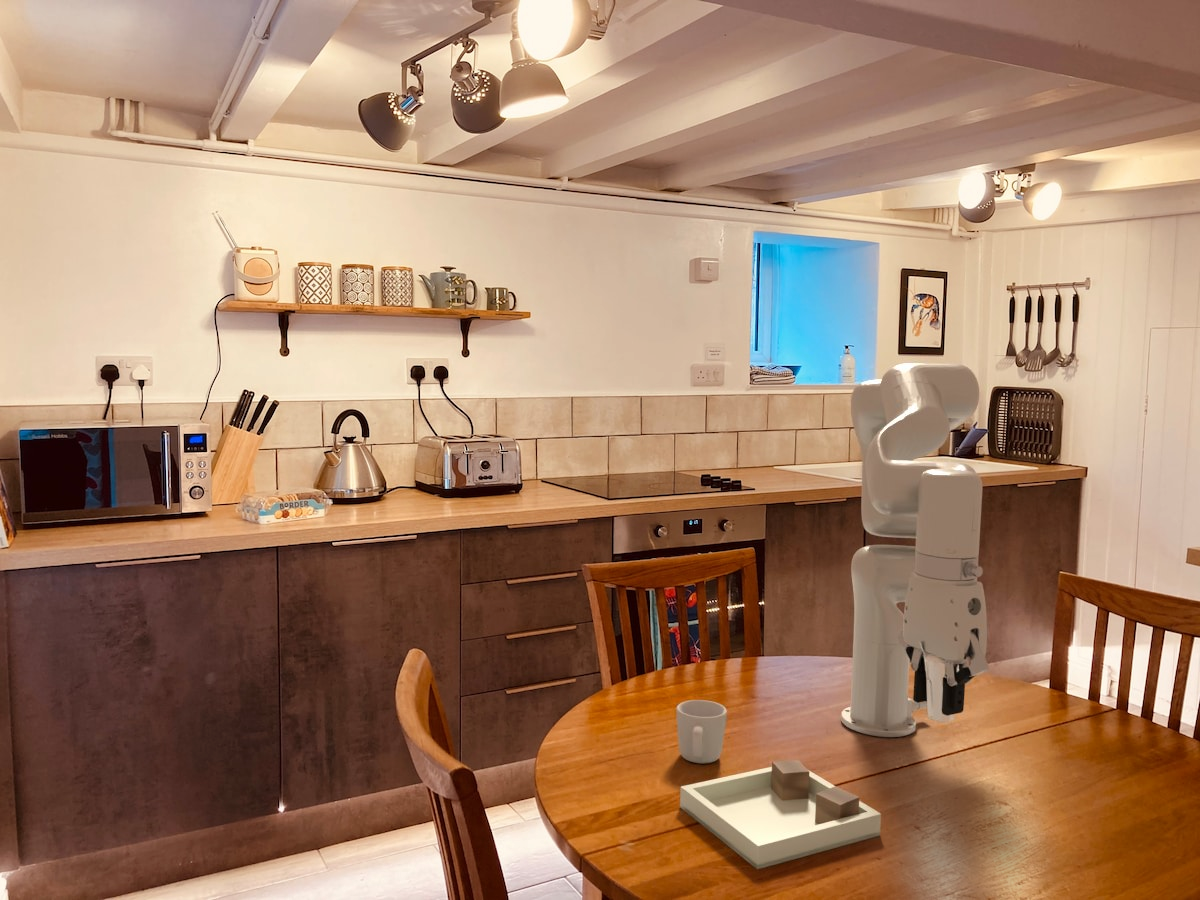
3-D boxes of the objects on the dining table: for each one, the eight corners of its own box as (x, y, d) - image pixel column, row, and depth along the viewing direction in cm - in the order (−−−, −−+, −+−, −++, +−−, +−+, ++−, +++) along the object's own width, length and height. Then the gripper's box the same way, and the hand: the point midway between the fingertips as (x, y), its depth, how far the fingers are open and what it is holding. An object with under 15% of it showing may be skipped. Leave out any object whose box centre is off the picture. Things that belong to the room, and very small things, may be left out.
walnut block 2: (834, 814, 129) (835, 786, 129) (858, 825, 126) (859, 797, 126) (815, 822, 127) (816, 793, 126) (838, 834, 124) (840, 805, 123)
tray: (793, 781, 141) (794, 761, 140) (880, 835, 125) (881, 813, 125) (680, 807, 132) (680, 786, 131) (757, 869, 116) (758, 846, 115)
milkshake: (909, 711, 123) (911, 637, 122) (949, 710, 123) (951, 636, 123) (924, 724, 118) (927, 647, 118) (965, 723, 119) (968, 646, 118)
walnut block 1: (796, 786, 138) (797, 759, 137) (808, 798, 134) (809, 771, 133) (771, 788, 137) (772, 761, 136) (781, 800, 133) (783, 773, 133)
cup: (722, 778, 141) (724, 726, 141) (669, 772, 143) (671, 721, 142) (727, 750, 152) (728, 701, 151) (678, 745, 153) (679, 697, 153)
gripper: (1022, 578, 113) (1012, 725, 115) (917, 551, 128) (910, 682, 130) (978, 584, 110) (969, 735, 112) (876, 556, 125) (869, 690, 126)
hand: (937, 705), depth 121 cm, fingers closed on milkshake, 4 cm apart
